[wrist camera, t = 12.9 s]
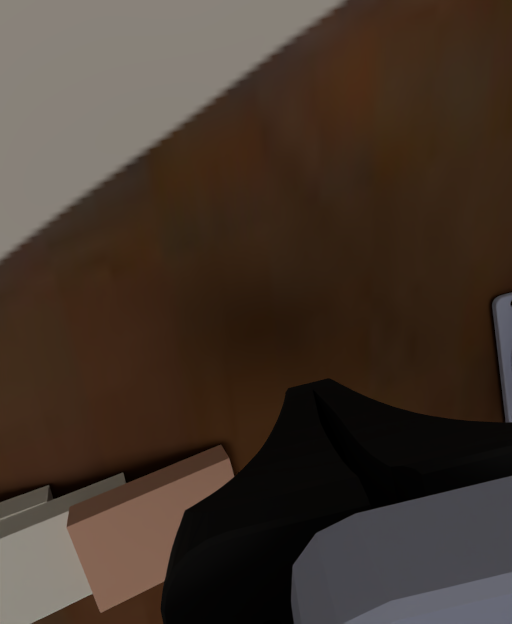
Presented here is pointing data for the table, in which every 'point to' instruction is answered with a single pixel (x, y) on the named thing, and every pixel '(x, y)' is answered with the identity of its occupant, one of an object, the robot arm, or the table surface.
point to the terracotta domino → (140, 525)
